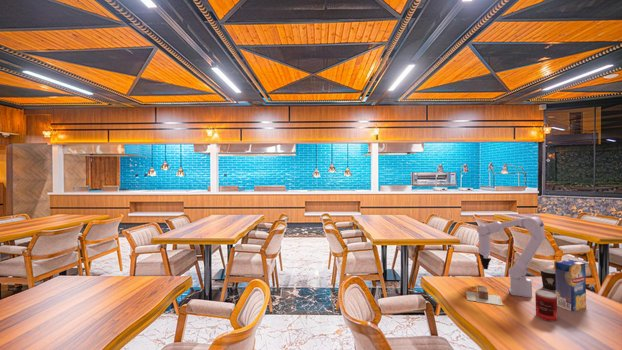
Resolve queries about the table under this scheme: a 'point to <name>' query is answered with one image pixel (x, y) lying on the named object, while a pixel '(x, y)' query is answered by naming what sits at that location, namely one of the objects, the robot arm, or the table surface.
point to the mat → (491, 299)
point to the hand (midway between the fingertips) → (484, 267)
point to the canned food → (546, 305)
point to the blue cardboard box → (570, 284)
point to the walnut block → (482, 292)
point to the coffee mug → (548, 279)
